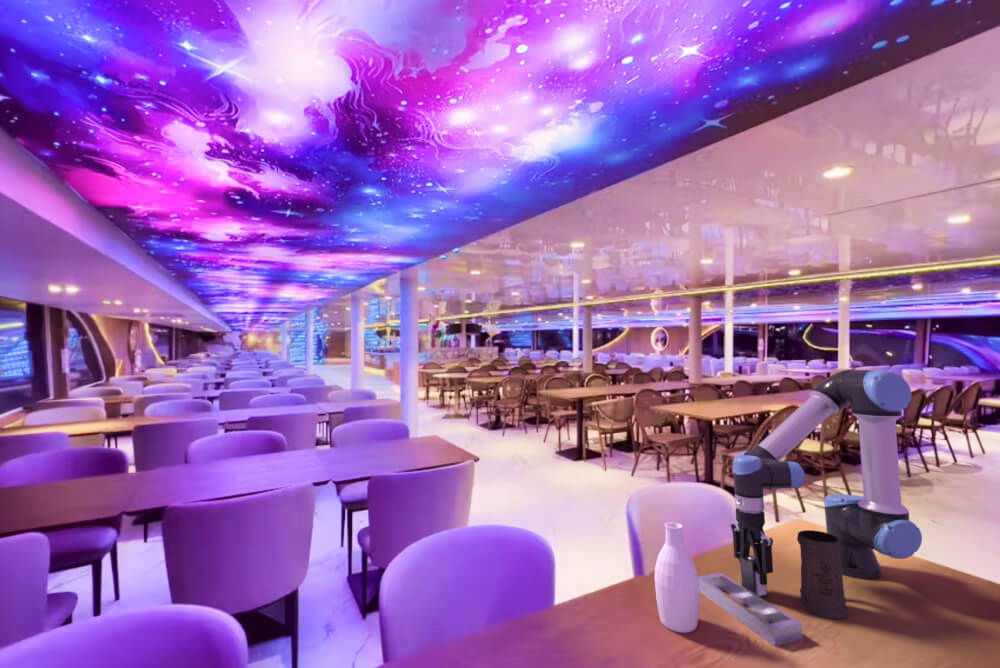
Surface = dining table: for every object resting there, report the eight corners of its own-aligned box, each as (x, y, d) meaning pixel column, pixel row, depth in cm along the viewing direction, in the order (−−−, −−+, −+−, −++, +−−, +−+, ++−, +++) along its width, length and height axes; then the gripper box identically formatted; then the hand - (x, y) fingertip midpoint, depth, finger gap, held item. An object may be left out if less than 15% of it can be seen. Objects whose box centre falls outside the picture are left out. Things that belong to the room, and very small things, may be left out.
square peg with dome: (754, 589, 134) (752, 553, 135) (767, 597, 130) (764, 559, 130) (742, 591, 133) (740, 555, 134) (754, 599, 129) (752, 561, 129)
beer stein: (858, 622, 116) (850, 542, 119) (812, 619, 118) (805, 539, 121) (828, 596, 131) (821, 525, 134) (787, 593, 133) (781, 523, 136)
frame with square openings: (721, 586, 136) (720, 571, 137) (802, 639, 110) (801, 621, 110) (697, 590, 134) (696, 575, 135) (774, 646, 108) (773, 627, 108)
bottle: (680, 641, 111) (675, 536, 112) (647, 618, 120) (642, 522, 122) (711, 627, 116) (705, 527, 117) (676, 607, 126) (671, 515, 127)
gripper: (717, 501, 140) (721, 578, 139) (763, 520, 123) (768, 608, 122) (737, 499, 142) (741, 574, 141) (785, 517, 125) (790, 603, 124)
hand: (754, 589), depth 131 cm, fingers open, 4 cm apart
